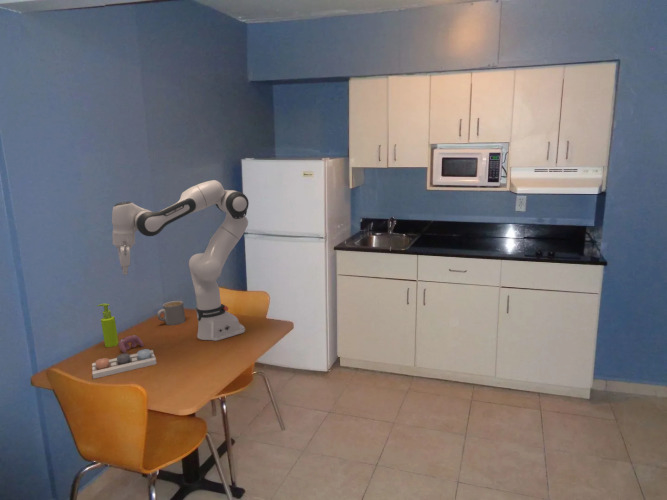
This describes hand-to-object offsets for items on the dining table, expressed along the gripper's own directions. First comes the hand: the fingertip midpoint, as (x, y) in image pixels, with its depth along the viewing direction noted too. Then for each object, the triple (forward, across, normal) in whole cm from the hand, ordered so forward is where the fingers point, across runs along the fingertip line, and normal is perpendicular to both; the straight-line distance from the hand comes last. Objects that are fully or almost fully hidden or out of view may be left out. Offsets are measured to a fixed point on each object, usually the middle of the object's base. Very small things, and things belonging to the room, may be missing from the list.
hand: (124, 272), depth 207 cm
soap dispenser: (+39, +18, +6) cm, 43 cm away
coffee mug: (+36, +34, -24) cm, 55 cm away
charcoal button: (+36, -12, +1) cm, 38 cm away
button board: (+38, -12, +1) cm, 39 cm away
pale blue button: (+35, -12, -7) cm, 38 cm away
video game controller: (+38, +7, -2) cm, 39 cm away
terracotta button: (+37, -12, +9) cm, 40 cm away
